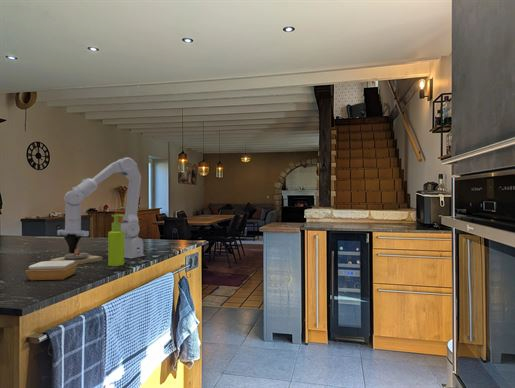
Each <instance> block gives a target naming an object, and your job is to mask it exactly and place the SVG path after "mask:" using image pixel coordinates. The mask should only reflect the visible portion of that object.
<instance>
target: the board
mask: <svg viewBox="0 0 515 388" xmlns="http://www.w3.org/2000/svg"><path fill="white" fill-rule="evenodd" d="M49 261H75V262H74V264H78V265H82V264H87V263H92V262H93V263H94V262H96V261H97V262H98V261H103V256H100V255H92V254H91V255H90V254H89V257H87V258H83V259H65V256H63V257H62V256H61V257H57V258H51V259H50V260H49Z"/></svg>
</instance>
